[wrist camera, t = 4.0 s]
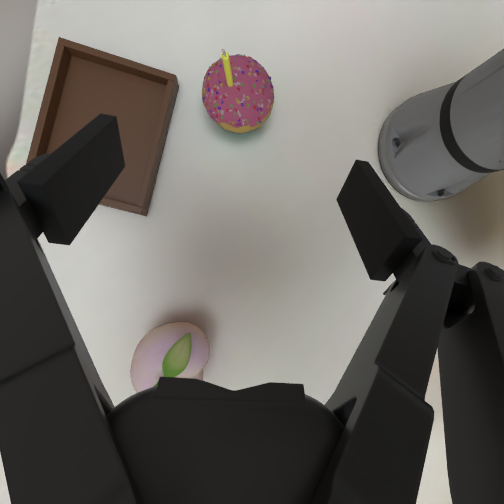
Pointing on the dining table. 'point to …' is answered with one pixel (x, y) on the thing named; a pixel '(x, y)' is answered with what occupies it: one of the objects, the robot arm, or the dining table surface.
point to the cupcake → (237, 93)
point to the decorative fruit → (169, 355)
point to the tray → (111, 103)
